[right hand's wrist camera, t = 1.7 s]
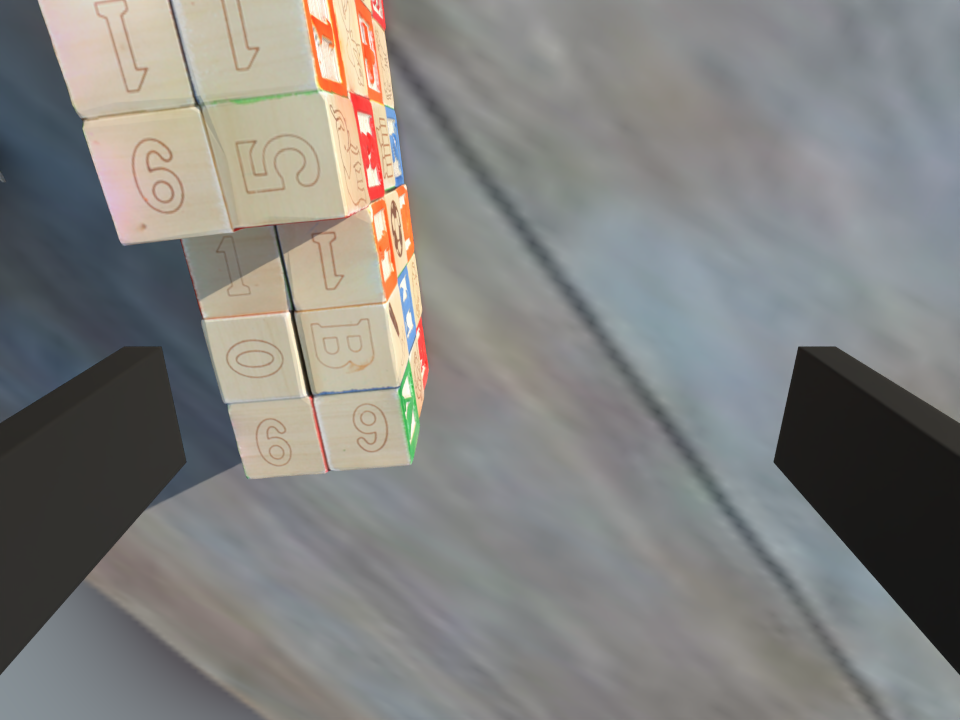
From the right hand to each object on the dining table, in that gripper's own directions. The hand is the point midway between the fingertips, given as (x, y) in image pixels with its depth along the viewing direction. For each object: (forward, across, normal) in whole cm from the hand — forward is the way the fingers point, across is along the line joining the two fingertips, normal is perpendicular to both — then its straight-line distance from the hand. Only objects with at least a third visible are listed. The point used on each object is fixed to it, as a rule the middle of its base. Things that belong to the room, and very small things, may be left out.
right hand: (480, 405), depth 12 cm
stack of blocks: (+16, +6, -4) cm, 18 cm away
